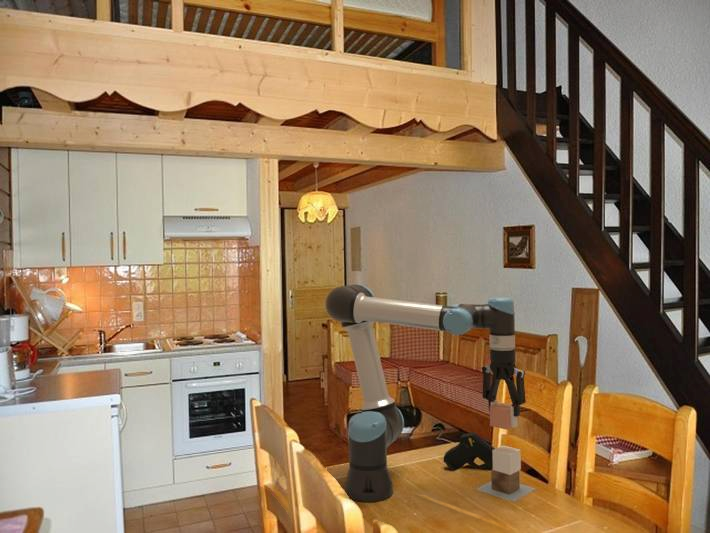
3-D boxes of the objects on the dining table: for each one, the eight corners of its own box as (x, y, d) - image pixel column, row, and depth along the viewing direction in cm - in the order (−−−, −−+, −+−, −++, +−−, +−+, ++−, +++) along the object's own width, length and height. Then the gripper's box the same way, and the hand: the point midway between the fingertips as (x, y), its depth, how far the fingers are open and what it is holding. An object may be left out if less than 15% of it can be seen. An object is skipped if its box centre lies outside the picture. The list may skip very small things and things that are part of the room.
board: (475, 493, 168) (475, 489, 168) (498, 480, 177) (498, 477, 177) (513, 506, 158) (513, 501, 158) (536, 492, 167) (536, 488, 167)
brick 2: (491, 489, 168) (491, 469, 168) (502, 483, 172) (501, 464, 172) (509, 494, 163) (508, 474, 163) (519, 488, 167) (519, 468, 167)
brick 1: (490, 425, 167) (489, 406, 167) (501, 421, 171) (500, 402, 171) (507, 429, 163) (506, 409, 163) (518, 425, 167) (517, 405, 167)
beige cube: (492, 469, 167) (492, 450, 167) (503, 464, 171) (502, 445, 171) (510, 475, 163) (510, 454, 163) (520, 469, 167) (520, 449, 167)
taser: (441, 458, 191) (466, 424, 189) (484, 491, 187) (510, 458, 185) (439, 462, 187) (465, 428, 184) (483, 496, 183) (510, 462, 180)
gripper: (468, 347, 171) (470, 421, 171) (524, 353, 158) (526, 433, 158) (482, 344, 177) (484, 416, 177) (537, 350, 163) (539, 428, 163)
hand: (504, 424), depth 167 cm, fingers closed on brick 1, 6 cm apart
